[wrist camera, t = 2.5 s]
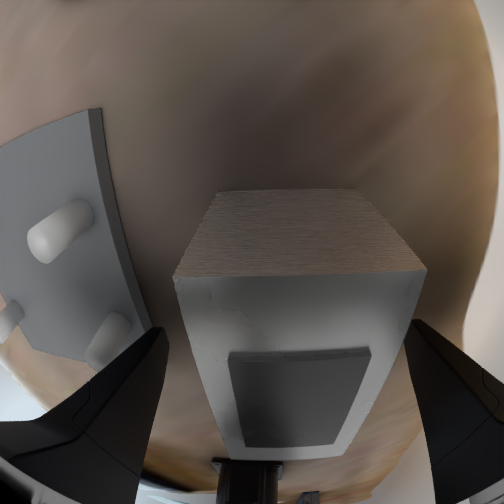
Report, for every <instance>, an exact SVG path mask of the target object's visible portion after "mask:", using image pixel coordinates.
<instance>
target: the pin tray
mask: <svg viewBox="0 0 504 504" xmlns="http://www.w3.org/2000/svg"><path fill="white" fill-rule="evenodd" d="M0 292H1V294H2V296H3V298H4V300H5V302H6V304H7V306H6V307H5V308H4V309H3V311H2V312H1V313H0V343H1V344H3V343H4V341H5V340H6V339H7V337H8V336H9V335H10V333H11V332H12V331H13V329H14V328H15V327H16V326H17V324H18V326H19V327H20V329H21V331H22V332H23V334H24V335H25V337H26V339H27V340H28V342H29V343H30V345H31V346H32V348H33V349H36V350H39V351H43V352H46V353H50V354H54V355H58V356H62V357H66V358H70V359H74V360H78V361H83V362H86V363H87V364H88V365H89V366H90V367H92V368H93V369H95V370H97V371H99V372H100V371H101V370H102V369H103V368H104V367H106V366H107V365H108V364H109V363H110V362H111V361H113V360H114V359H115V358H116V357H117V356H118V355H120V354H121V353H122V352H123V351H124V350H125V349H127V348H128V347H129V346H130V345H131V344H133V343H134V342H135V341H136V340H137V339H138V338H140V337H141V336H142V335H143V334H144V333H145V332H147V331H148V330H149V329H150V328H152V327H153V326H152V323H151V320H150V318H149V315H148V312H147V309H146V306H145V303H144V300H143V297H142V294H141V291H140V288H139V285H138V282H137V279H136V276H135V272H134V269H133V266H132V262H131V259H130V255H129V252H128V248H127V245H126V241H125V237H124V233H123V229H122V225H121V221H120V217H119V213H118V209H117V204H116V200H115V195H114V190H113V185H112V180H111V175H110V170H109V164H108V158H107V152H106V146H105V139H104V132H103V124H102V115H101V108H96V109H88V110H85V111H82V112H79V113H76V114H73V115H71V116H68V117H65V118H63V119H60V120H57V121H55V122H52V123H50V124H48V125H45V126H43V127H40V128H38V129H36V130H34V131H31V132H29V133H27V134H25V135H23V136H21V137H19V138H17V139H15V140H13V141H11V142H9V143H7V144H5V145H3V146H1V147H0Z"/></svg>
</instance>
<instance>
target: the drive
mask: <svg viewBox="0 0 504 504" xmlns="http://www.w3.org/2000/svg"><path fill="white" fill-rule="evenodd" d="M426 274H427V268H426V267H425V266H424V264H423V263H422V262H421V261H420V259H419V258H418V257H417V256H416V254H415V253H414V252H413V251H412V250H411V248H410V247H409V246H408V245H407V244H406V242H405V241H404V240H403V239H402V238H401V237H400V235H399V234H398V233H397V232H396V231H395V230H394V228H393V227H392V226H391V225H390V224H389V223H388V222H387V221H386V219H385V218H384V217H383V216H382V215H381V214H380V213H379V212H378V211H377V210H376V209H375V207H374V206H373V205H372V204H371V203H370V202H369V201H368V200H367V199H366V198H365V197H364V196H363V195H362V194H361V193H360V192H359V191H358V190H357V189H268V190H241V191H220V192H217V194H216V196H215V198H214V199H213V201H212V203H211V205H210V206H209V208H208V210H207V212H206V214H205V215H204V217H203V219H202V221H201V223H200V225H199V226H198V228H197V230H196V232H195V234H194V236H193V238H192V240H191V241H190V243H189V245H188V247H187V249H186V251H185V253H184V255H183V257H182V259H181V261H180V262H179V264H178V266H177V268H176V270H175V272H174V274H173V276H172V278H173V282H174V286H175V290H176V294H177V298H178V302H179V306H180V310H181V313H182V317H183V321H184V324H185V328H186V332H187V335H188V338H189V342H190V345H191V349H192V352H193V355H194V358H195V362H196V365H197V368H198V371H199V374H200V377H201V380H202V383H203V386H204V389H205V392H206V395H207V398H208V401H209V404H210V407H211V409H212V412H213V415H214V418H215V420H216V423H217V426H218V428H219V431H220V434H221V436H222V439H223V441H224V444H225V446H226V449H227V451H228V454H229V456H230V459H236V460H301V459H315V458H326V457H335V456H342V455H343V454H344V452H345V451H346V449H347V448H348V446H349V445H350V443H351V442H352V440H353V438H354V437H355V435H356V434H357V432H358V430H359V429H360V427H361V425H362V424H363V422H364V420H365V418H366V417H367V415H368V413H369V411H370V409H371V408H372V406H373V404H374V402H375V400H376V398H377V396H378V394H379V393H380V391H381V389H382V387H383V385H384V383H385V381H386V378H387V376H388V374H389V372H390V370H391V368H392V366H393V363H394V361H395V359H396V357H397V354H398V352H399V350H400V347H401V345H402V343H403V340H404V338H405V335H406V333H407V330H408V327H409V325H410V322H411V319H412V317H413V314H414V311H415V308H416V305H417V302H418V299H419V296H420V293H421V290H422V287H423V284H424V280H425V277H426Z"/></svg>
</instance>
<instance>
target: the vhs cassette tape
mask: <svg viewBox="0 0 504 504" xmlns="http://www.w3.org/2000/svg"><path fill="white" fill-rule="evenodd" d="M296 504H320V503H319V491H316V492H303V493H302V495H301V497H300V498H299V500H298V502H297V503H296Z"/></svg>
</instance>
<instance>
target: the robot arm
mask: <svg viewBox="0 0 504 504" xmlns="http://www.w3.org/2000/svg"><path fill="white" fill-rule="evenodd" d="M403 341H404V346H405V351H406V356H407V361H408V367H409V372H410V376H411V380H412V384H413V387H414V391H415V395H416V399H417V402H418V406H419V410H420V414H421V419H422V423H423V427H424V432H425V436H426V441H427V447H428V452H429V457H430V463H431V470H432V477H433V484H434V491H435V501H436V504H457V503H459V502H461V501H463V500H465V499H467V498H469V500H470V504H504V384H503V383H502V382H500V381H499V380H498V379H496V378H495V377H494V376H492V375H491V374H490V373H489V372H487V371H486V370H485V369H484V368H482V367H481V366H480V365H479V364H478V363H476V362H475V361H474V360H473V359H471V358H470V357H469V356H468V355H466V354H465V353H464V352H463V351H461V350H460V349H459V348H458V347H456V346H455V345H454V344H452V343H451V342H450V341H449V340H447V339H446V338H445V337H443V336H442V335H441V334H439V333H438V332H437V331H436V330H434V329H433V328H432V327H430V326H429V325H428V324H426V323H425V322H424V321H422V320H421V319H413V320H411V322H410V325H409V327H408V330H407V333H406V335H405V338H404V340H403ZM168 353H169V341H168V338H167V335H166V333H165V330H164V328H163V327H152V328H150V329H149V330H148V331H147V332H145V333H144V334H143V335H142V336H141V337H140V338H138V339H137V340H136V341H135V342H134V343H133V344H131V345H130V346H129V347H128V348H127V349H125V350H124V351H123V352H122V353H121V354H120V355H118V356H117V357H116V358H115V359H114V360H113V361H111V362H110V363H109V364H108V365H107V366H106V367H104V368H103V369H102V370H101V371H100V372H98V373H97V374H96V375H95V376H94V377H93V378H91V379H90V382H89V381H88V382H87V383H86V384H84V385H83V386H82V387H81V388H80V389H78V390H77V391H76V392H75V393H73V394H72V395H71V396H69V397H68V398H67V399H65V400H64V401H63V402H61V403H60V404H58V405H57V406H55V407H54V408H53V409H51V410H50V411H48V412H47V413H45V414H44V415H42V416H41V417H39V418H37V419H34V420H30V421H5V422H4V421H2V422H0V504H135V499H136V494H137V490H138V485H139V481H140V475H141V471H142V467H143V462H144V458H145V454H146V449H147V445H148V441H149V437H150V433H151V429H152V425H153V421H154V418H155V414H156V410H157V406H158V402H159V399H160V395H161V391H162V388H163V384H164V378H165V372H166V366H167V359H168ZM211 464H212V465H213V467H214V468H215V470H216V471H217V473H218V474H219V481H218V489H217V498H216V504H277V497H278V480H281V478H282V470H283V462H280V461H235V460H221V459H212V462H211Z"/></svg>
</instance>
